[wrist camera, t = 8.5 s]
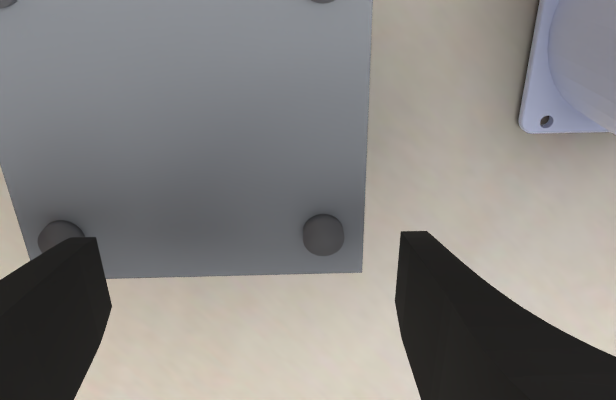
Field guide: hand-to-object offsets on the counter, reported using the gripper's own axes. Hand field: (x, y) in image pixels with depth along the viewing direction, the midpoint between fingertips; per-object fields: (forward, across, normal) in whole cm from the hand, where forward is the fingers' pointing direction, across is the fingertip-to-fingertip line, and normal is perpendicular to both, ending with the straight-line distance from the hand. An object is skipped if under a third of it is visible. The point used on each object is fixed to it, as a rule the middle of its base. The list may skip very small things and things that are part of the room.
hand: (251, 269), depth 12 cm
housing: (+10, +2, -3) cm, 10 cm away
